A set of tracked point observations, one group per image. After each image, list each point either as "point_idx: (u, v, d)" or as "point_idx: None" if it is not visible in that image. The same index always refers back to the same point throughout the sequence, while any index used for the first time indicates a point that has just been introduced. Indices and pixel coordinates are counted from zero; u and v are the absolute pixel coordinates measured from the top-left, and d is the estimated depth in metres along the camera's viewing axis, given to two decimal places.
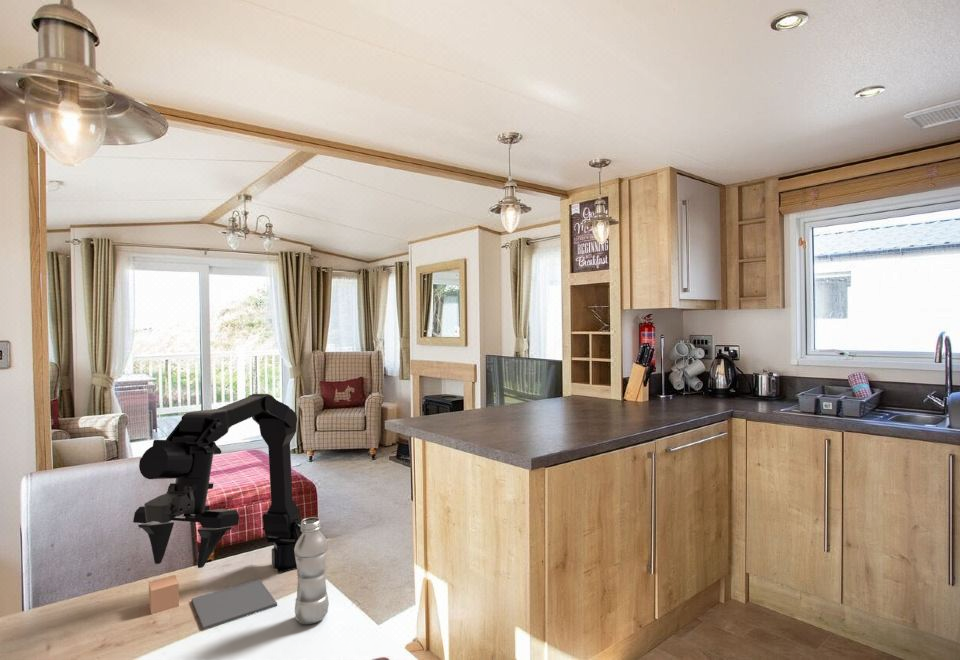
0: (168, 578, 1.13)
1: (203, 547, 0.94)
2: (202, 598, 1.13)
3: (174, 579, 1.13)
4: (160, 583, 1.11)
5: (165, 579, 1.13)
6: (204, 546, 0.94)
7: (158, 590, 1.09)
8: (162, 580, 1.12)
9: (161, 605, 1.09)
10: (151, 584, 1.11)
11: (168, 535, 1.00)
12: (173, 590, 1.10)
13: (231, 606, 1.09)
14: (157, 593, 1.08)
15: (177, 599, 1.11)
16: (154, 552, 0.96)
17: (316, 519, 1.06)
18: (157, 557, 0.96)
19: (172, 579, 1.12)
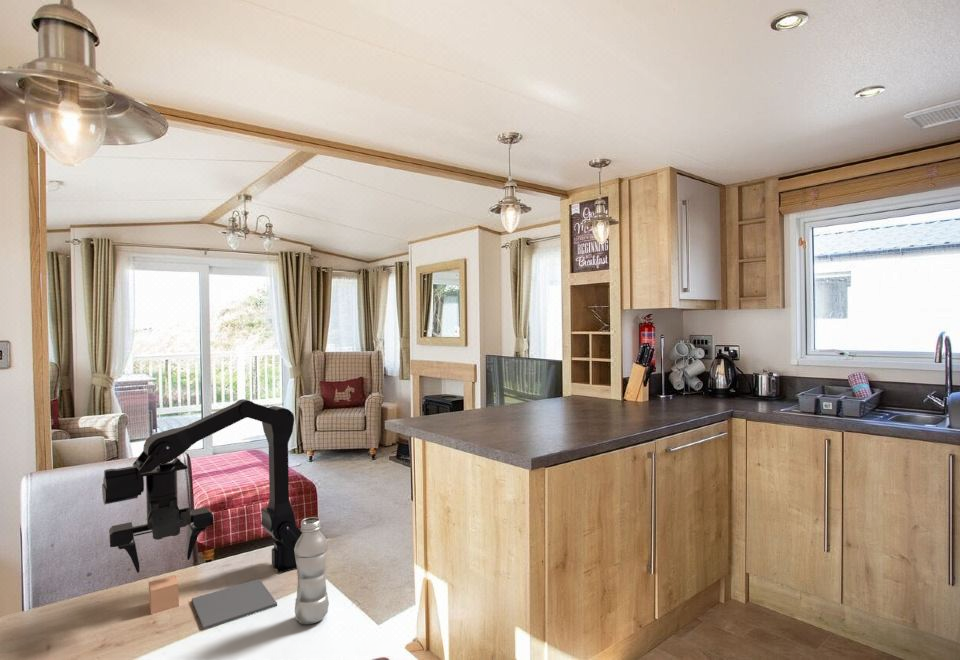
0: (168, 578, 1.13)
1: (193, 543, 1.14)
2: (202, 598, 1.13)
3: (174, 579, 1.13)
4: (160, 583, 1.11)
5: (165, 579, 1.13)
6: (194, 542, 1.14)
7: (158, 590, 1.09)
8: (162, 580, 1.12)
9: (161, 605, 1.09)
10: (151, 584, 1.11)
11: None
12: (173, 590, 1.10)
13: (231, 606, 1.09)
14: (157, 593, 1.08)
15: (177, 599, 1.11)
16: (136, 564, 1.08)
17: (316, 519, 1.06)
18: None
19: (172, 579, 1.12)
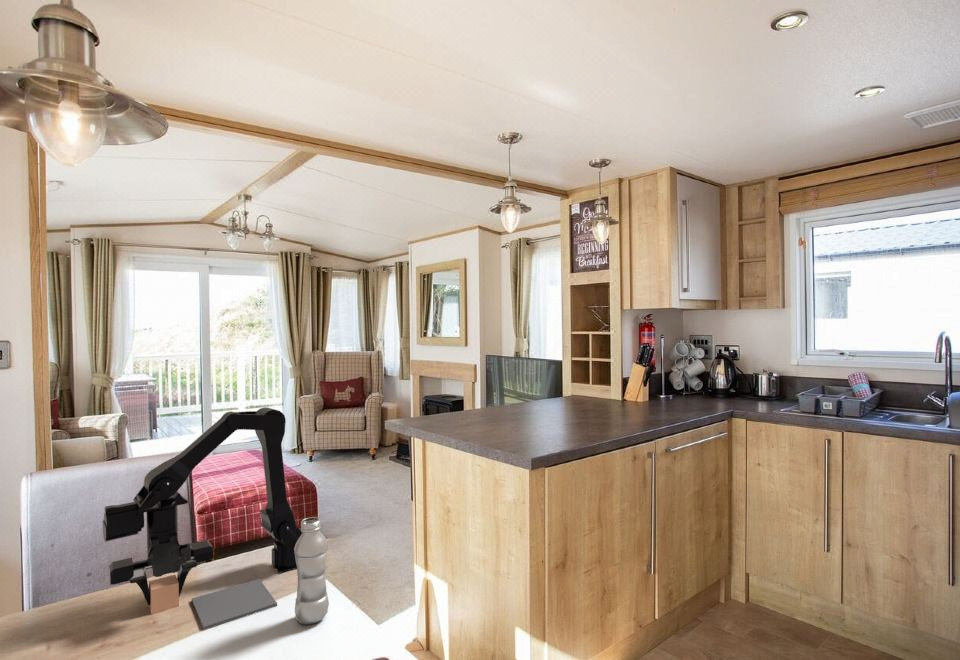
0: (168, 577, 1.13)
1: (183, 580, 1.13)
2: (202, 598, 1.13)
3: (174, 578, 1.13)
4: (160, 583, 1.11)
5: (166, 579, 1.13)
6: (184, 579, 1.13)
7: (158, 590, 1.09)
8: (162, 579, 1.12)
9: (161, 604, 1.09)
10: (151, 583, 1.11)
11: None
12: (173, 589, 1.10)
13: (231, 606, 1.09)
14: (157, 592, 1.08)
15: (177, 598, 1.11)
16: (147, 597, 1.09)
17: (316, 519, 1.06)
18: None
19: (172, 579, 1.12)
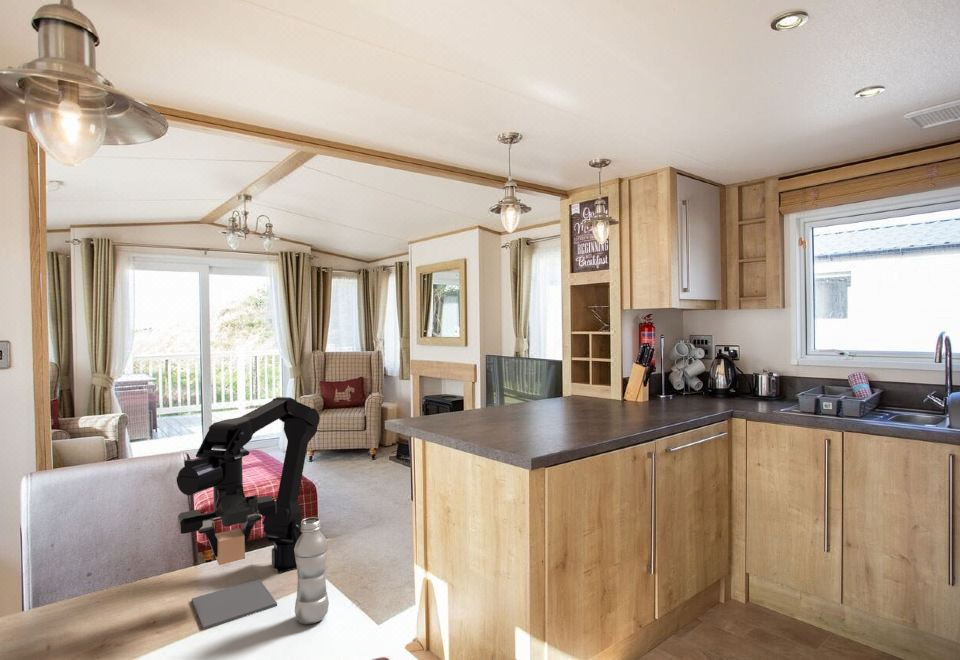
0: (233, 530, 1.14)
1: (248, 533, 1.13)
2: (202, 598, 1.13)
3: (239, 532, 1.13)
4: (226, 535, 1.11)
5: (231, 532, 1.13)
6: (249, 532, 1.13)
7: (225, 541, 1.09)
8: (228, 532, 1.13)
9: (228, 556, 1.09)
10: (217, 535, 1.11)
11: None
12: (239, 542, 1.10)
13: (231, 606, 1.09)
14: (224, 544, 1.09)
15: (243, 551, 1.11)
16: (214, 548, 1.09)
17: (316, 519, 1.06)
18: None
19: (237, 532, 1.13)
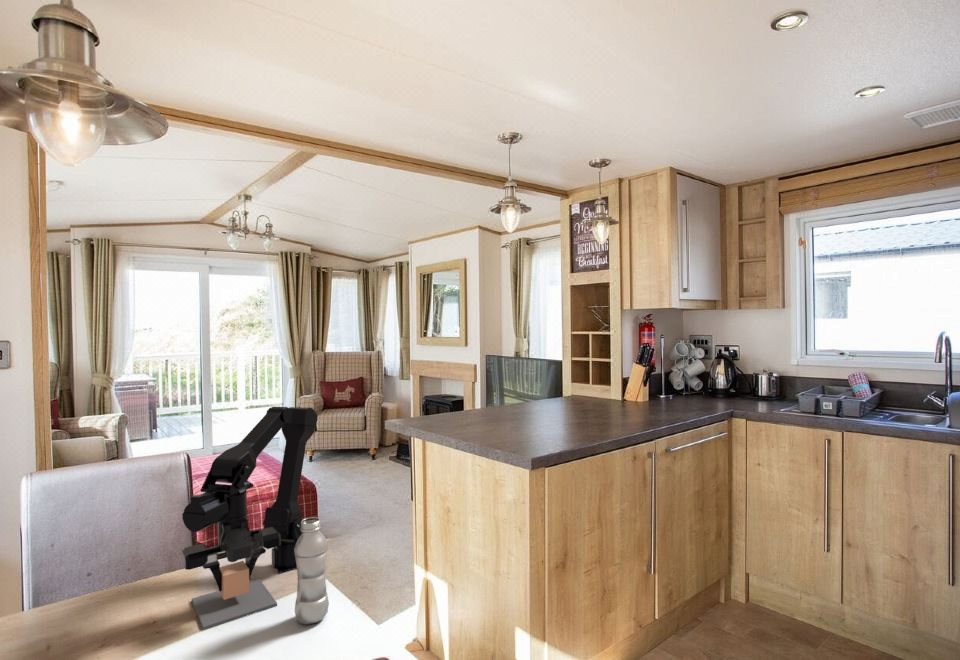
0: (236, 563, 1.14)
1: (252, 566, 1.13)
2: (202, 598, 1.13)
3: (243, 565, 1.13)
4: (230, 569, 1.11)
5: (235, 565, 1.13)
6: (253, 565, 1.13)
7: (229, 576, 1.09)
8: (231, 565, 1.13)
9: (232, 590, 1.09)
10: (221, 569, 1.11)
11: None
12: (244, 575, 1.10)
13: (231, 606, 1.09)
14: (229, 578, 1.09)
15: (247, 584, 1.11)
16: (219, 582, 1.09)
17: (316, 519, 1.06)
18: (221, 585, 1.10)
19: (241, 565, 1.13)
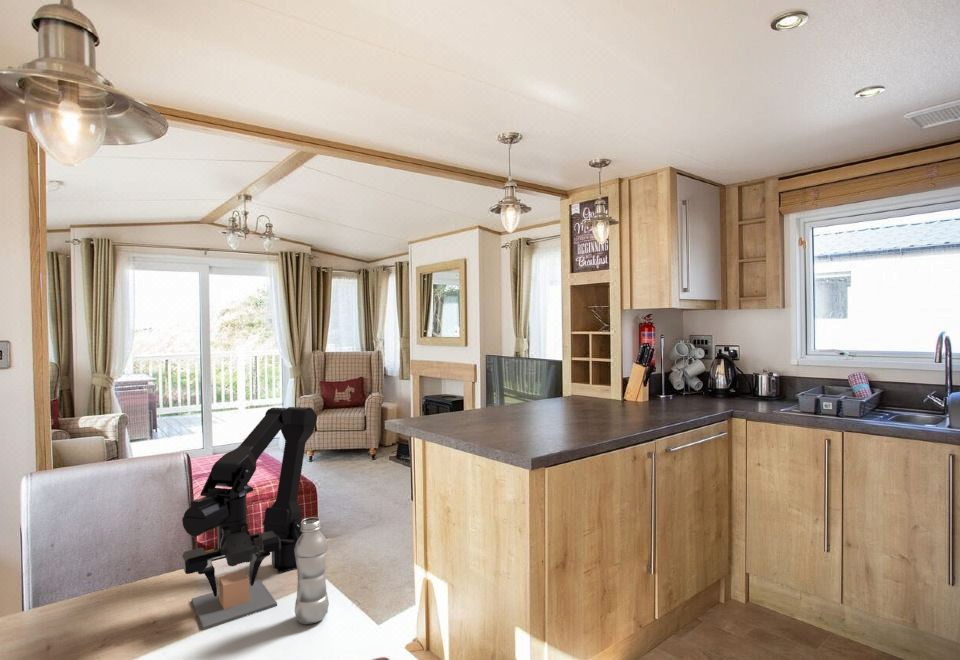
0: (237, 573, 1.14)
1: (257, 569, 1.13)
2: (202, 598, 1.13)
3: (243, 574, 1.13)
4: (230, 578, 1.11)
5: (235, 574, 1.13)
6: (258, 568, 1.13)
7: (230, 585, 1.09)
8: (232, 575, 1.13)
9: (233, 600, 1.09)
10: (221, 579, 1.11)
11: None
12: (244, 585, 1.10)
13: None
14: (229, 587, 1.09)
15: (248, 594, 1.11)
16: (214, 588, 1.08)
17: (316, 519, 1.06)
18: (216, 591, 1.09)
19: (241, 574, 1.13)
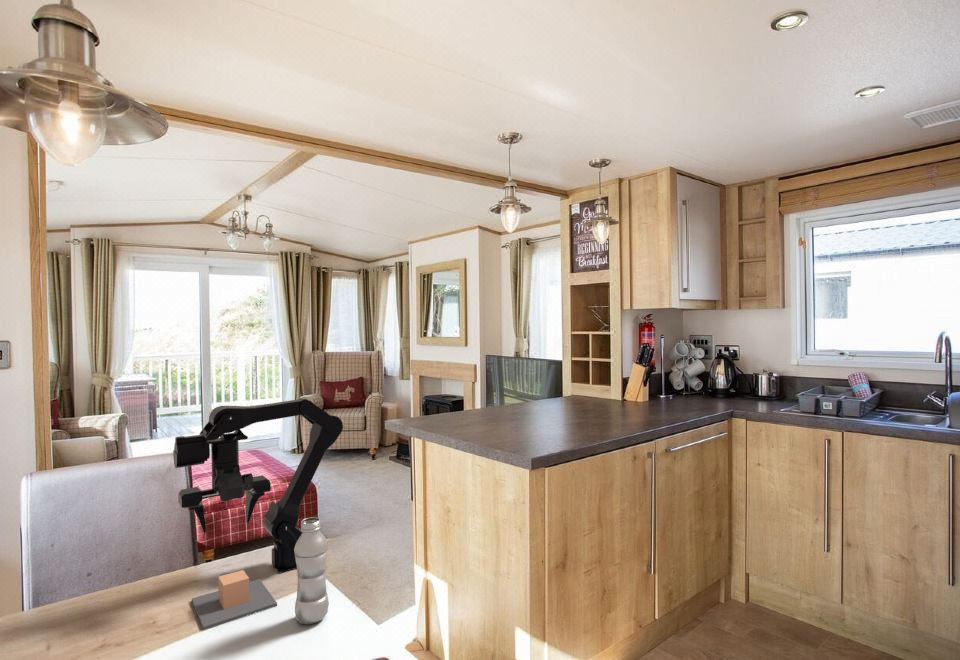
0: (237, 573, 1.14)
1: (252, 507, 1.23)
2: (202, 598, 1.13)
3: (243, 574, 1.13)
4: (230, 578, 1.11)
5: (235, 574, 1.13)
6: (253, 506, 1.23)
7: (230, 585, 1.09)
8: (232, 575, 1.13)
9: (233, 600, 1.09)
10: (221, 579, 1.11)
11: None
12: (244, 585, 1.10)
13: None
14: (229, 587, 1.09)
15: (248, 594, 1.11)
16: (203, 524, 1.17)
17: (316, 519, 1.06)
18: (205, 527, 1.18)
19: (241, 574, 1.13)
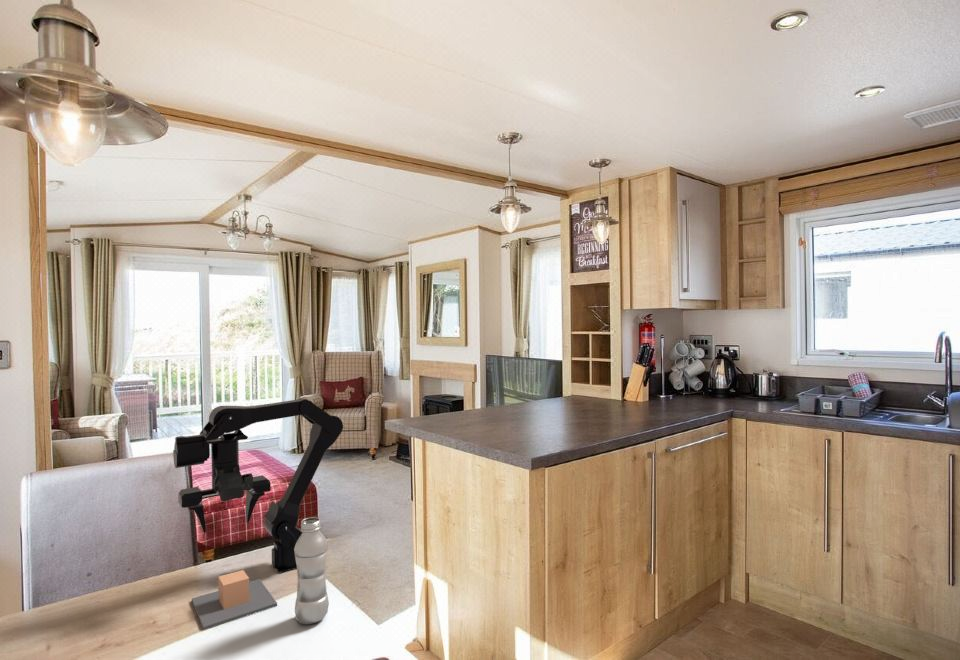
0: (237, 573, 1.14)
1: (252, 507, 1.23)
2: (202, 598, 1.13)
3: (243, 574, 1.13)
4: (230, 578, 1.11)
5: (235, 574, 1.13)
6: (253, 506, 1.23)
7: (230, 585, 1.09)
8: (232, 575, 1.13)
9: (233, 600, 1.09)
10: (221, 579, 1.11)
11: None
12: (244, 585, 1.10)
13: None
14: (229, 587, 1.09)
15: (248, 594, 1.11)
16: (203, 524, 1.17)
17: (316, 519, 1.06)
18: (205, 527, 1.18)
19: (241, 574, 1.13)
